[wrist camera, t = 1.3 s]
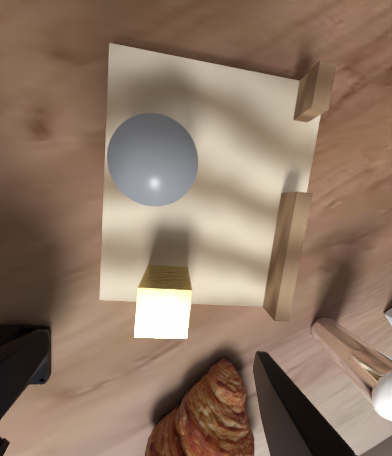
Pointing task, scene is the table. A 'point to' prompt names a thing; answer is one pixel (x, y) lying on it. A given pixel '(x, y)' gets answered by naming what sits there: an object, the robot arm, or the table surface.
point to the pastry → (207, 419)
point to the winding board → (217, 179)
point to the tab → (163, 302)
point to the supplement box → (389, 316)
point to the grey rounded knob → (152, 159)
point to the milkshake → (358, 363)
